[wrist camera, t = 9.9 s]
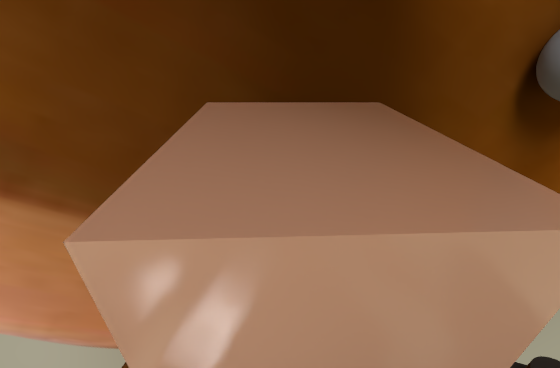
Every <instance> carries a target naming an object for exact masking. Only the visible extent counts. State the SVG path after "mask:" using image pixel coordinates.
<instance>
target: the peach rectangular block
mask: <svg viewBox="0 0 560 368" xmlns="http://www.w3.org/2000/svg"><path fill="white" fill-rule="evenodd" d="M63 243H64V245H65V247H66V249H67V251H68V252H69V254H70V256H71V258H72V260H73V262H74V264H75V266H76V268H77V270H78V271H79V273H80V275H81V277H82V279H83V281H84V283H85V285H86V287H87V289H88V291H89V292H90V294H91V296H92V298H93V300H94V302H95V304H96V306H97V308H98V310H99V312H100V313H101V315H102V317H103V319H104V321H105V323H106V325H107V327H108V329H109V331H110V333H111V334H112V336H113V338H114V340H115V342H116V344H117V346H118V348H119V350H120V352H121V353H122V355H123V357H124V359H125V361H126V363H127V365H128V367H129V368H510V367H511V366H512V365H513V363H514V362H515V361H516V360H517V359H518V358H519V356H520V355H521V354H522V353H523V352H524V350H525V349H526V348H527V347H528V346H529V344H530V343H531V342H532V341H533V340H534V338H535V337H536V336H537V335H538V334H539V332H540V331H541V330H542V329H543V328H544V327H545V325H546V324H547V323H548V322H549V321H550V319H551V318H552V317H553V316H554V315H555V313H556V312H557V311H558V310H559V309H560V194H558V193H556V192H554V191H552V190H550V189H549V188H547V187H545V186H543V185H541V184H539V183H537V182H535V181H533V180H531V179H529V178H527V177H525V176H523V175H521V174H519V173H517V172H515V171H513V170H511V169H509V168H507V167H505V166H503V165H501V164H499V163H497V162H496V161H494V160H492V159H490V158H488V157H486V156H484V155H482V154H480V153H478V152H476V151H474V150H472V149H470V148H468V147H466V146H464V145H462V144H460V143H458V142H456V141H454V140H452V139H450V138H448V137H446V136H444V135H442V134H441V133H439V132H437V131H435V130H433V129H431V128H429V127H427V126H425V125H423V124H421V123H419V122H417V121H415V120H413V119H411V118H409V117H407V116H405V115H403V114H401V113H399V112H397V111H395V110H393V109H391V108H389V107H388V106H386V105H384V104H382V103H380V102H207V103H206V104H205V105H204V106H203V107H202V108H201V109H200V110H199V111H198V112H197V113H196V114H195V115H194V116H193V117H192V118H191V119H189V120H188V121H187V122H186V123H185V124H184V125H183V126H182V127H181V128H180V129H179V130H178V131H177V132H176V133H175V134H174V135H173V136H172V137H171V138H170V139H169V140H168V141H167V142H166V143H165V144H164V145H163V146H162V147H161V148H160V149H159V150H158V151H157V152H156V153H154V154H153V155H152V156H151V157H150V158H149V159H148V160H147V161H146V162H145V163H144V164H143V165H142V166H141V167H140V168H139V169H138V170H137V171H136V172H135V173H134V174H133V175H132V176H131V177H130V178H129V179H128V180H127V181H126V182H125V183H124V184H123V185H122V186H120V187H119V188H118V189H117V190H116V191H115V192H114V193H113V194H112V195H111V196H110V197H109V198H108V199H107V200H106V201H105V202H104V203H103V204H102V205H101V206H100V207H99V208H98V209H97V210H96V211H95V212H94V213H93V214H92V215H91V216H90V217H89V218H88V219H86V220H85V221H84V222H83V223H82V224H81V225H80V226H79V227H78V228H77V229H76V230H75V231H74V232H73V233H72V234H71V235H70V236H69V237H68V238H67V239H66V240H65V241H64V242H63Z"/></svg>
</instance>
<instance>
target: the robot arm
mask: <svg viewBox="0 0 560 368" xmlns="http://www.w3.org/2000/svg"><path fill="white" fill-rule="evenodd" d="M122 368H129V367H128V365H127V363H126V362H125V364H124V365H123V366H122ZM510 368H560V361H558V360H555V359H552V358H549V357H536V358H534V359H533V360H532V361H531V362H530V363H529V364H528V365H524V364H520V363H517V362H514V363H513V365H512V366H511V367H510Z"/></svg>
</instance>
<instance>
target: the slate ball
mask: <svg viewBox="0 0 560 368" xmlns="http://www.w3.org/2000/svg"><path fill="white" fill-rule="evenodd" d="M536 76H537V80H538V83H539V85H540V87H541V88H542V89H543V90H544V92H545V93H547V94H548V95H549V96H551V97H552V98H554V99H556V100H558V101H560V30H558V31H557V32H556V33H555V34H554V35H553V36H552V38H551V39H550V40H549V41H548V42H547V44H546V45H545V46H544V48H543V50H542V51H541V53H540V56H539V58H538V61H537V66H536Z"/></svg>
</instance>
